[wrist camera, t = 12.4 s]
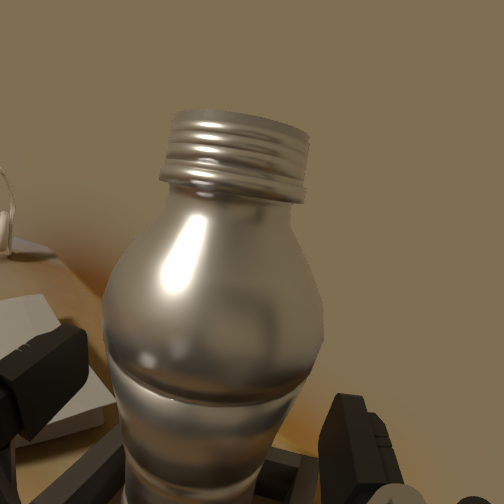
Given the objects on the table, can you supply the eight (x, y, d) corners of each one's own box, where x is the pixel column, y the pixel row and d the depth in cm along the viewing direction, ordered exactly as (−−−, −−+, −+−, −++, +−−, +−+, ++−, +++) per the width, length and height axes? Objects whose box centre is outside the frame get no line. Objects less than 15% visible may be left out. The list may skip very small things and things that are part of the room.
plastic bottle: (142, 481, 16) (161, 128, 11) (247, 503, 16) (339, 158, 11) (111, 557, 10) (64, 89, 5) (239, 586, 9) (411, 136, 5)
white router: (53, 316, 35) (51, 288, 35) (145, 438, 21) (145, 404, 21) (-53, 329, 24) (-58, 298, 23) (-29, 488, 10) (-51, 453, 9)
